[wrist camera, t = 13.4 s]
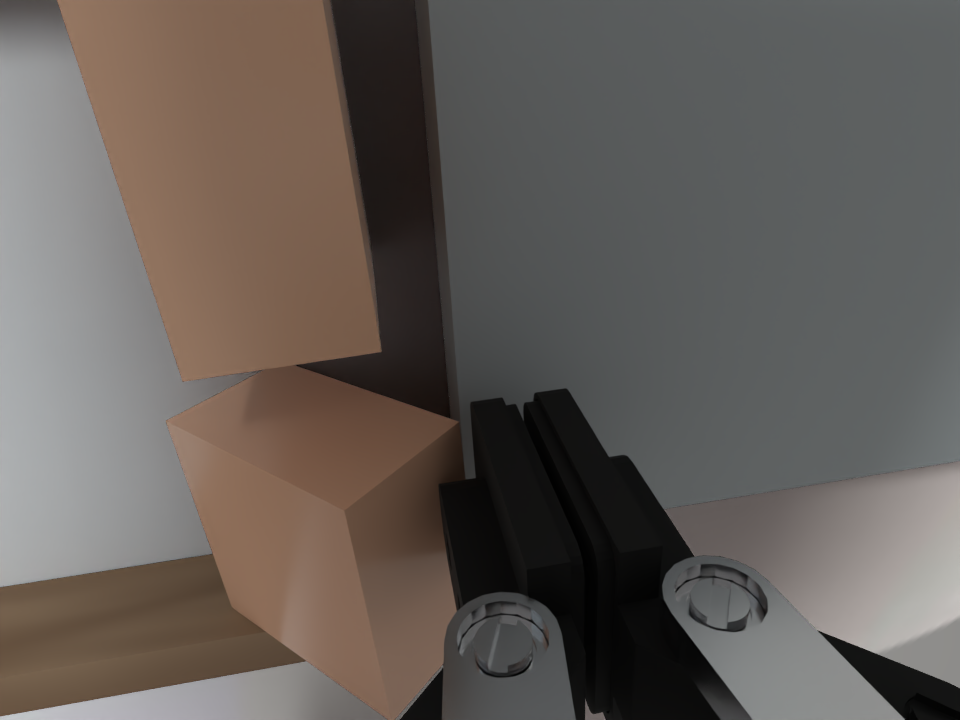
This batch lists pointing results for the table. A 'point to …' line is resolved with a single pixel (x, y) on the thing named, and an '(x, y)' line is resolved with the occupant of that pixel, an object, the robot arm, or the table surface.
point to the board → (704, 229)
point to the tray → (124, 634)
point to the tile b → (329, 523)
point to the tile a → (235, 175)
